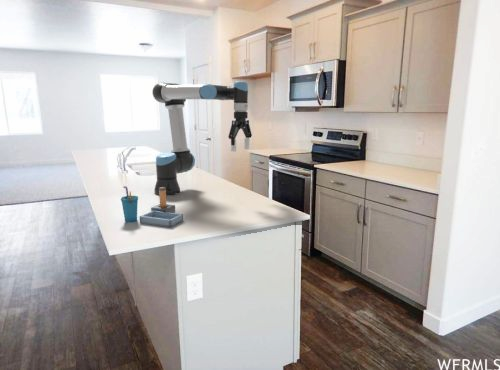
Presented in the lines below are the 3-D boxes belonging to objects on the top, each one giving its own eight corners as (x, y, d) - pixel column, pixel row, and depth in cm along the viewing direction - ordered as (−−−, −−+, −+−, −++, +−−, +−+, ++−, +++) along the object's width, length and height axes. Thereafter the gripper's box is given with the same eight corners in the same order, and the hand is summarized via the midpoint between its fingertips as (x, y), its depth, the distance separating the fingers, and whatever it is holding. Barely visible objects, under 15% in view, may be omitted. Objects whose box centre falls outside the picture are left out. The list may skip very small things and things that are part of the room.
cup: (117, 217, 167) (115, 185, 164) (134, 215, 171) (132, 184, 168) (126, 225, 155) (123, 191, 152) (144, 222, 160) (142, 189, 157)
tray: (139, 222, 159) (139, 216, 158) (153, 216, 168) (153, 210, 168) (170, 227, 153) (170, 220, 153) (183, 220, 162) (183, 214, 162)
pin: (159, 214, 171) (157, 188, 169) (162, 213, 174) (161, 186, 171) (164, 215, 170) (163, 188, 167) (168, 213, 173) (166, 187, 170)
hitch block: (151, 215, 170) (151, 207, 169) (161, 211, 177) (161, 203, 176) (165, 217, 167) (165, 209, 166) (175, 213, 174) (175, 205, 173)
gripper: (233, 111, 184) (233, 152, 188) (258, 111, 205) (257, 148, 209) (221, 111, 188) (221, 151, 192) (246, 111, 209) (246, 147, 213)
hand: (240, 150), depth 201 cm, fingers open, 13 cm apart
